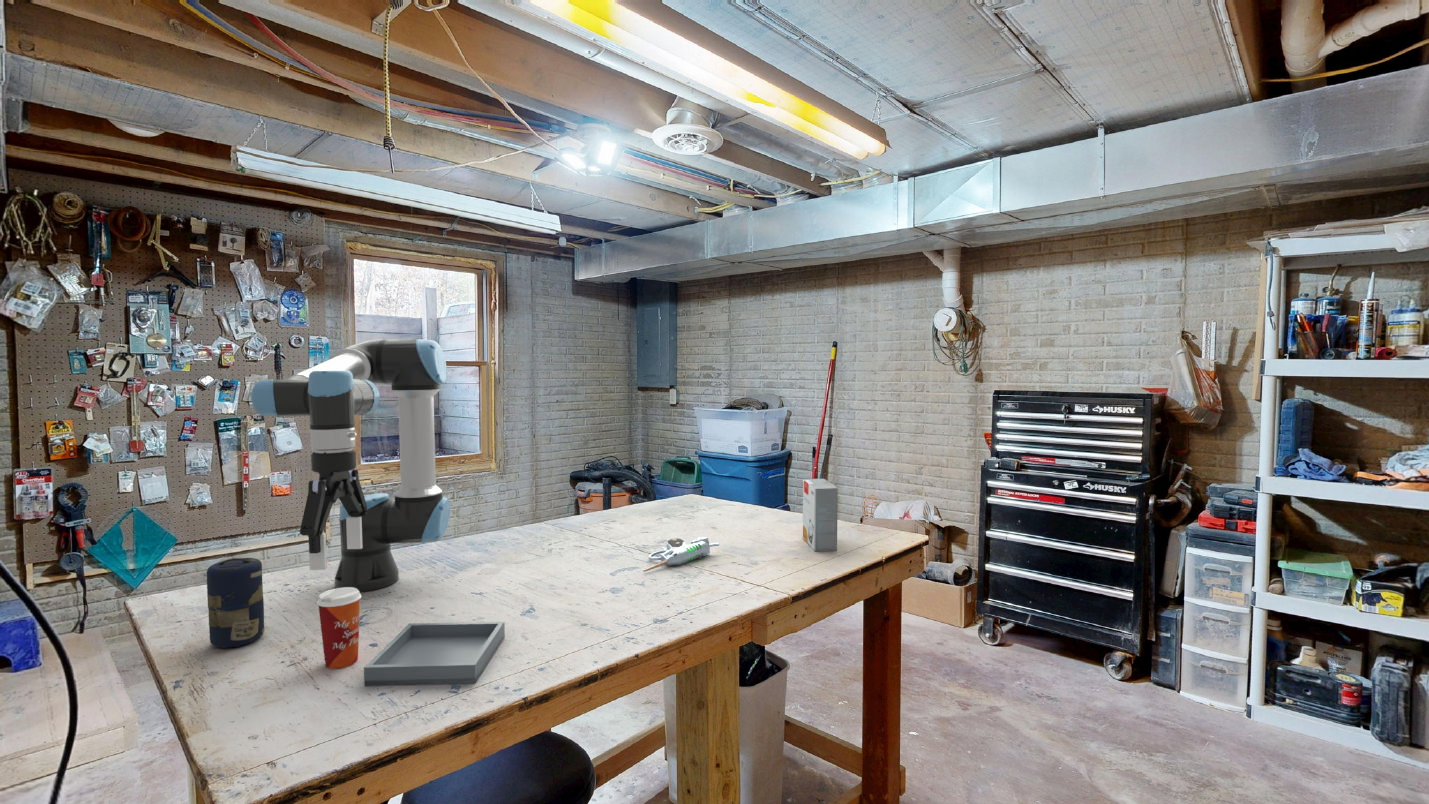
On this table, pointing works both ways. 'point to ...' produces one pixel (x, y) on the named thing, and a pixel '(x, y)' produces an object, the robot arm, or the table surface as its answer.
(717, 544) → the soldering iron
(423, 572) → the table surface
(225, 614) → the canister
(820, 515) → the hard drive box
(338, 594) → the paper cup
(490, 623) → the tray
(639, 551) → the table surface
